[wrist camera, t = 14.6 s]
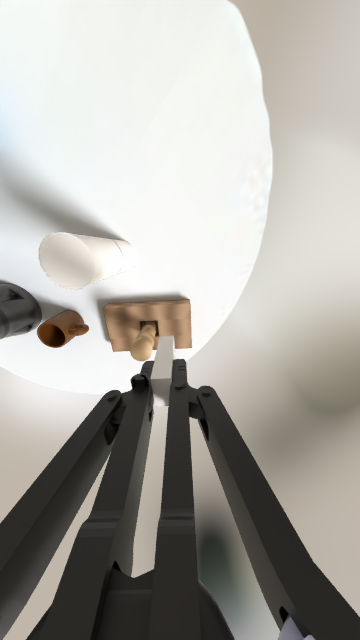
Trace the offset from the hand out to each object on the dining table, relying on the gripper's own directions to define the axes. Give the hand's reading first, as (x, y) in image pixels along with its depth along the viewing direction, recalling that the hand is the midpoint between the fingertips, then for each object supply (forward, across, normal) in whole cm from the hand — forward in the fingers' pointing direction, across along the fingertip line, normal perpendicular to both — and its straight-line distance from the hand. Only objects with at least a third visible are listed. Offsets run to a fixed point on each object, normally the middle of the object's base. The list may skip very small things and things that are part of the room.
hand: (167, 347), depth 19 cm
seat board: (+32, -8, -11) cm, 35 cm away
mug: (+33, -30, -9) cm, 45 cm away
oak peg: (+32, -8, -11) cm, 35 cm away
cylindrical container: (+33, -13, +9) cm, 36 cm away
